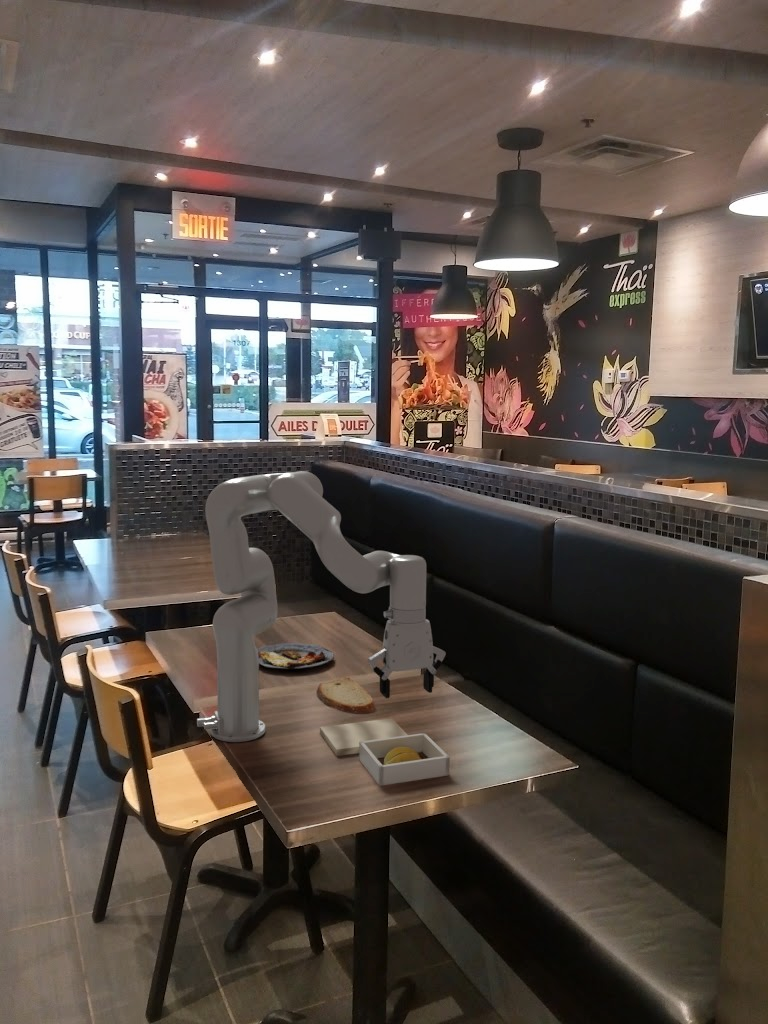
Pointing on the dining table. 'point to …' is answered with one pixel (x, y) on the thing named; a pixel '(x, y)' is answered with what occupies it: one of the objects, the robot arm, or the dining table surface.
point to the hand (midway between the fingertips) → (406, 693)
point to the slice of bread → (346, 696)
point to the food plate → (293, 656)
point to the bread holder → (404, 770)
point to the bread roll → (401, 755)
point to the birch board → (358, 734)
